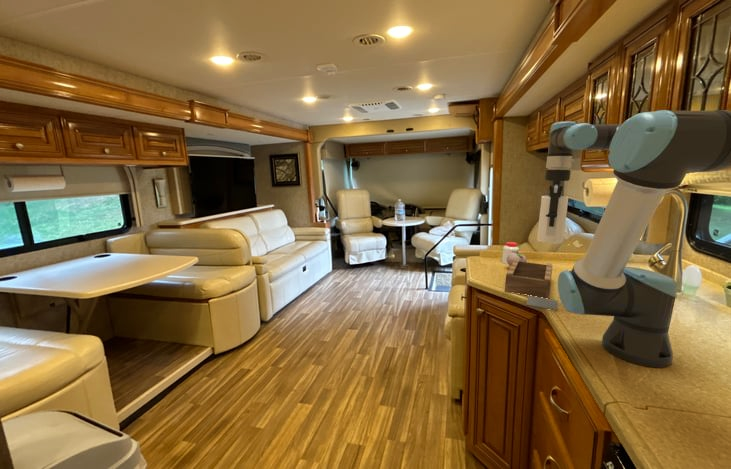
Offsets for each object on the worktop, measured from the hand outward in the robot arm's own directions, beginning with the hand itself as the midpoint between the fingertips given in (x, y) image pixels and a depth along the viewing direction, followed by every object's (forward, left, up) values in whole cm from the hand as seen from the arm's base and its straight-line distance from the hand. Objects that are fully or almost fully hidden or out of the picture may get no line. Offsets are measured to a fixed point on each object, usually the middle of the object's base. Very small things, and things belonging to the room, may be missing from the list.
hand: (550, 233), depth 118 cm
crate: (+19, +6, -27) cm, 33 cm away
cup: (0, 0, -3) cm, 3 cm away
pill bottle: (+53, +18, -27) cm, 62 cm away
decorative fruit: (+41, +14, -27) cm, 51 cm away
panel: (0, 0, -27) cm, 27 cm away
